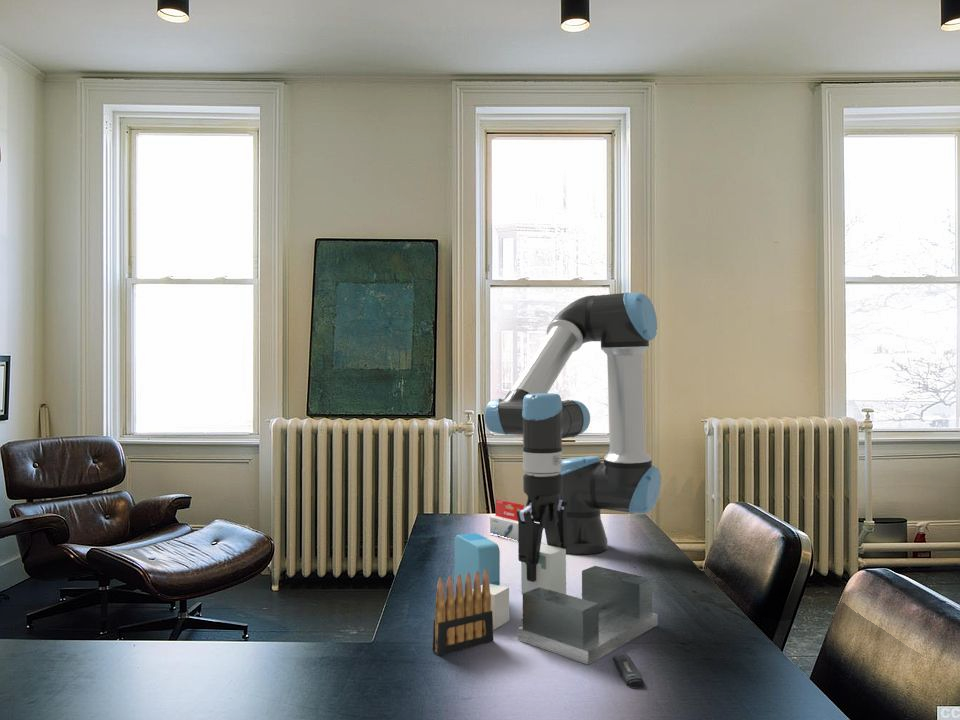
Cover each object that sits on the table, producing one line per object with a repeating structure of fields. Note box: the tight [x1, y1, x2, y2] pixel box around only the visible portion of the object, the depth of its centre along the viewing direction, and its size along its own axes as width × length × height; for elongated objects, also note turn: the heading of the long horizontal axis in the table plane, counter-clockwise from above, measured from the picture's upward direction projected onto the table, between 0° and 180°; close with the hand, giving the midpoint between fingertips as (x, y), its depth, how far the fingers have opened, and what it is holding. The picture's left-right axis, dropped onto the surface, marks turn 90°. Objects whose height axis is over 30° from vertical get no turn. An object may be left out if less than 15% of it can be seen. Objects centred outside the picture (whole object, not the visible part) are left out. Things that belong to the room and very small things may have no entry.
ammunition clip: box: [432, 569, 494, 657], centre depth 109 cm, size 11×2×12 cm, turn 123°
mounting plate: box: [517, 565, 658, 665], centre depth 115 cm, size 22×14×8 cm, turn 137°
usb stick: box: [613, 652, 645, 688], centre depth 99 cm, size 10×3×2 cm, turn 1°
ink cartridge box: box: [489, 499, 525, 541], centre depth 182 cm, size 2×11×10 cm, turn 43°
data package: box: [453, 532, 501, 597], centre depth 132 cm, size 12×4×12 cm, turn 25°
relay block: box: [472, 583, 510, 630], centre depth 120 cm, size 5×5×6 cm
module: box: [520, 543, 567, 595], centre depth 128 cm, size 5×7×9 cm
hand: (544, 593), depth 128 cm, fingers closed on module, 5 cm apart
